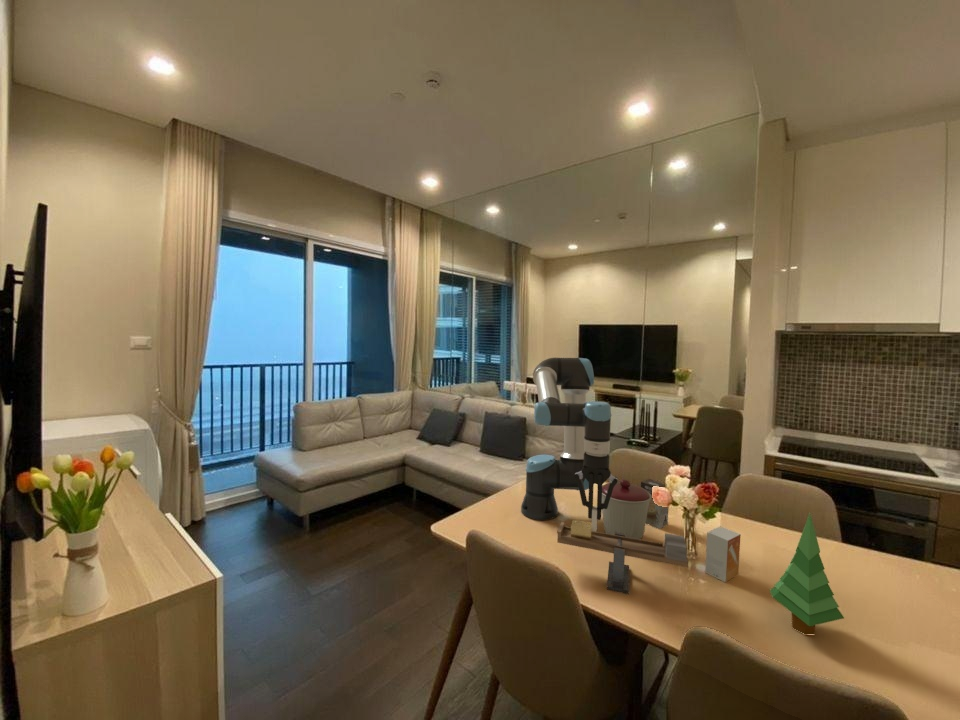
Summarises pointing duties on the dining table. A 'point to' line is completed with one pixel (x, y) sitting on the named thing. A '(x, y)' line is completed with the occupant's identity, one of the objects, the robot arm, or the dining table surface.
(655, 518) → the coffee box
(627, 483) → the canister
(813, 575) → the decorative tree
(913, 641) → the dining table surface
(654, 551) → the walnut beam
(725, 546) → the small box
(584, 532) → the block
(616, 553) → the beam stand
